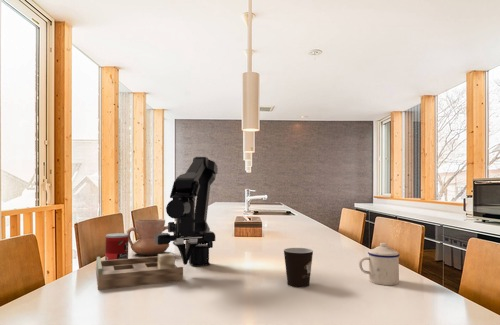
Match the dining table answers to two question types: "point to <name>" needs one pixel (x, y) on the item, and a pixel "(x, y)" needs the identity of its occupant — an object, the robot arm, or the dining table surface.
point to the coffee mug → (298, 266)
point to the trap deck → (134, 272)
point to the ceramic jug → (148, 237)
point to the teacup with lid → (382, 265)
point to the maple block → (166, 261)
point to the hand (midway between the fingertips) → (185, 264)
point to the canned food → (116, 246)
